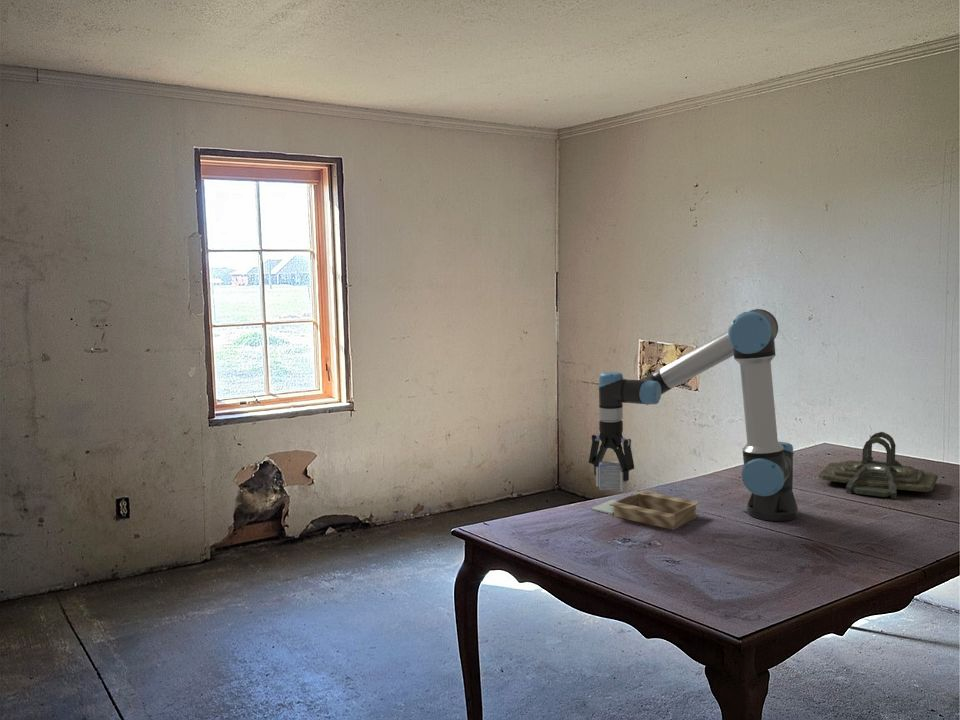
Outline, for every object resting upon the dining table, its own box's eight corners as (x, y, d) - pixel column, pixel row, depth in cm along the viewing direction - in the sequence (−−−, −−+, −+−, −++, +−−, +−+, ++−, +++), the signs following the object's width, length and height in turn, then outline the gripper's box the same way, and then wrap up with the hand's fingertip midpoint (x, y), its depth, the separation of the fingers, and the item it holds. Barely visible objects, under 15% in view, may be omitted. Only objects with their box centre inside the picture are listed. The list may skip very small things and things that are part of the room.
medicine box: (623, 486, 268) (622, 460, 267) (624, 490, 264) (624, 464, 263) (598, 486, 269) (598, 461, 268) (599, 490, 265) (599, 464, 263)
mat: (632, 505, 269) (632, 503, 269) (611, 514, 260) (611, 512, 260) (612, 501, 274) (612, 499, 274) (591, 509, 265) (591, 508, 265)
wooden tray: (700, 516, 256) (700, 502, 255) (668, 531, 242) (668, 517, 242) (642, 503, 270) (642, 490, 270) (609, 518, 256) (609, 504, 256)
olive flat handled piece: (812, 491, 280) (813, 439, 277) (833, 468, 307) (834, 421, 305) (928, 505, 260) (930, 450, 258) (939, 480, 287) (941, 430, 285)
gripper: (646, 421, 259) (646, 491, 262) (590, 414, 273) (591, 479, 276) (633, 425, 253) (633, 496, 256) (577, 417, 268) (577, 484, 271)
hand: (611, 487), depth 266 cm, fingers closed on medicine box, 9 cm apart
